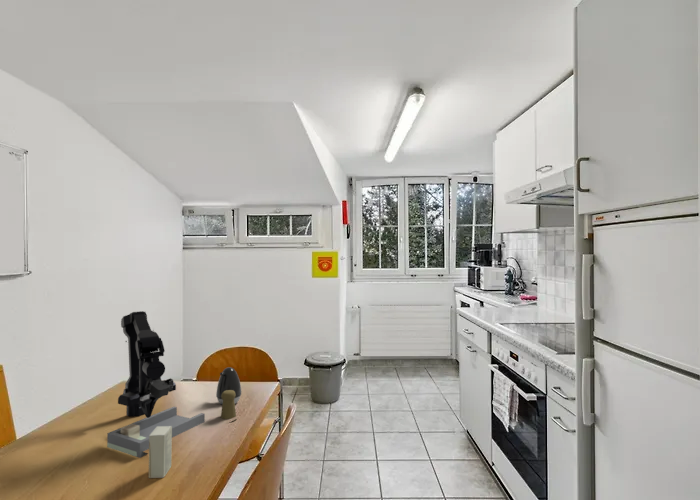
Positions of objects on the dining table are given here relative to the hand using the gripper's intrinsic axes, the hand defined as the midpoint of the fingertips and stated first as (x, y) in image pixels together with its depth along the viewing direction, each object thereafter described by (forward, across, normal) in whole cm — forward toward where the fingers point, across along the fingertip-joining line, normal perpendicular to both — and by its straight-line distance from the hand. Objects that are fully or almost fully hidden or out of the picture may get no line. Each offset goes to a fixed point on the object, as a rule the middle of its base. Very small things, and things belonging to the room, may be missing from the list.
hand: (148, 417), depth 140 cm
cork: (+7, +23, -15) cm, 28 cm away
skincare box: (+7, -14, -24) cm, 29 cm away
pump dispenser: (+7, +36, -3) cm, 36 cm away
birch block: (+5, -6, 0) cm, 8 cm away
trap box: (+6, +2, -3) cm, 7 cm away
